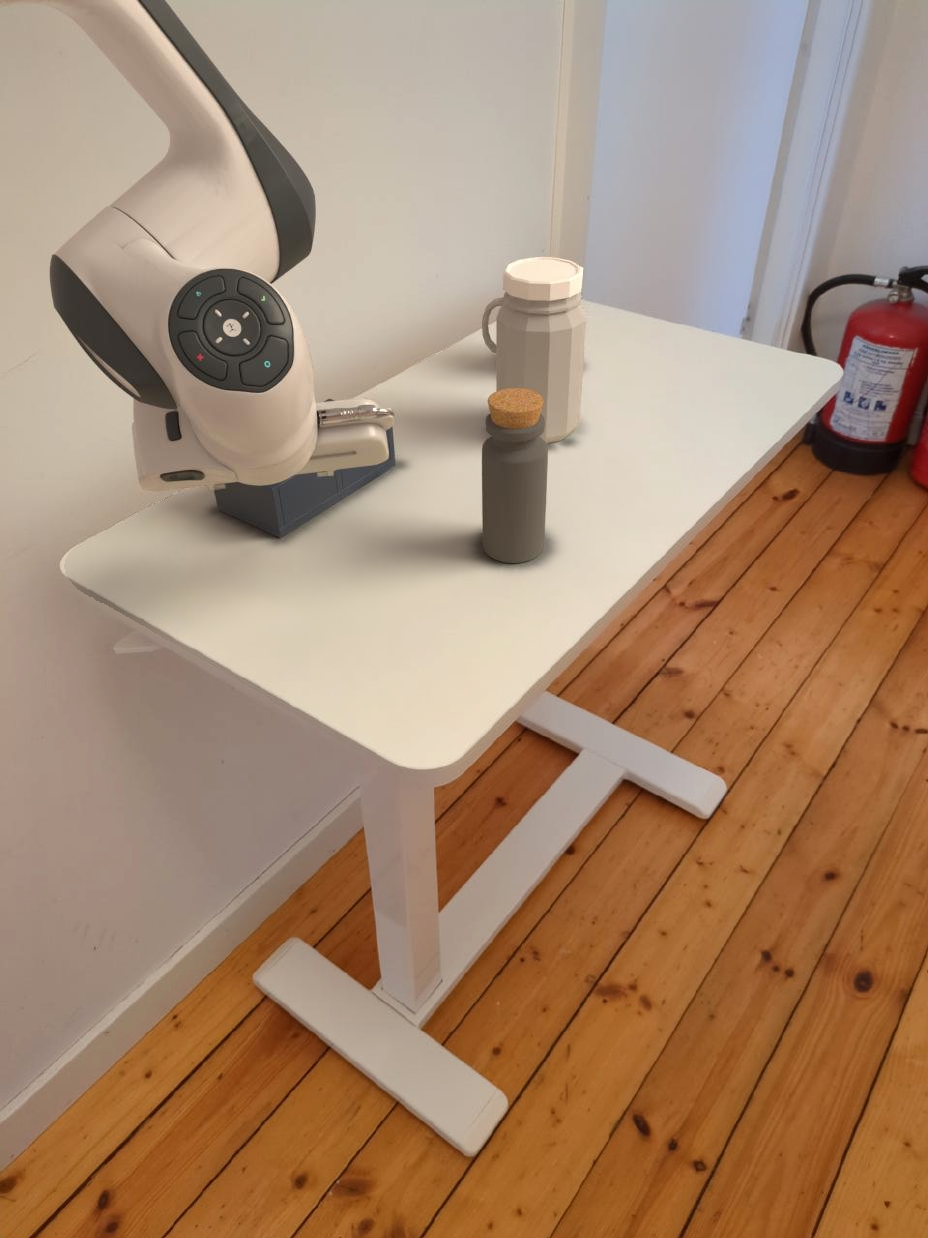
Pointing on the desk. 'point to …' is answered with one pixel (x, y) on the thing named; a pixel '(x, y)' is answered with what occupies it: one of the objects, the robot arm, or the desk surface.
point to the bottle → (514, 476)
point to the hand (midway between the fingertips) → (271, 474)
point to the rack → (296, 495)
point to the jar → (543, 338)
